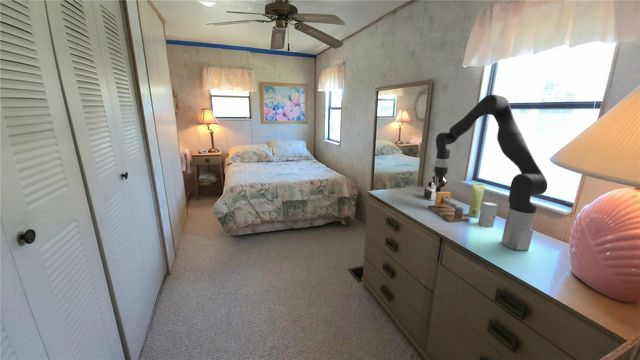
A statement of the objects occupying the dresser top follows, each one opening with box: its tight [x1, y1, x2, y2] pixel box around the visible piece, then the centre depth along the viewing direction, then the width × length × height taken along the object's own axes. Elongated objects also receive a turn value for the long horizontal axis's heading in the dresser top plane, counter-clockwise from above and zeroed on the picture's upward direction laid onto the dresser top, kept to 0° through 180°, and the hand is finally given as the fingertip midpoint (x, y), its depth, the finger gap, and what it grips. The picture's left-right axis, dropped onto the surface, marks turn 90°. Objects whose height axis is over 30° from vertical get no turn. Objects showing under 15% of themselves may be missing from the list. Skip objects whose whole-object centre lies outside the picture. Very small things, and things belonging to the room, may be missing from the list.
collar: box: [434, 191, 452, 207], centre depth 156 cm, size 2×8×8 cm, turn 97°
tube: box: [467, 183, 487, 218], centre depth 148 cm, size 6×5×20 cm
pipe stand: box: [427, 197, 470, 223], centre depth 151 cm, size 22×12×9 cm, turn 7°
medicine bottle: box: [423, 181, 436, 201], centre depth 178 cm, size 7×7×12 cm
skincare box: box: [477, 201, 498, 228], centre depth 137 cm, size 6×4×12 cm
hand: (437, 192), depth 161 cm, fingers closed
